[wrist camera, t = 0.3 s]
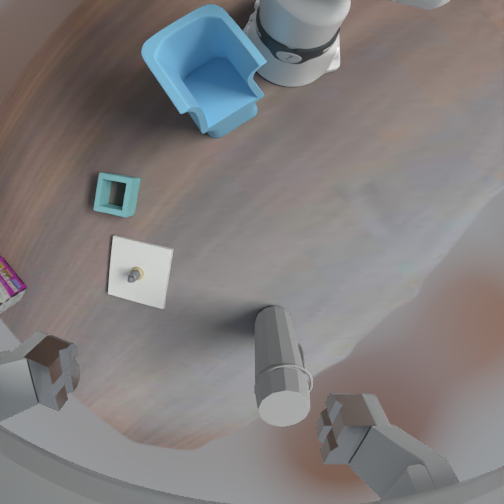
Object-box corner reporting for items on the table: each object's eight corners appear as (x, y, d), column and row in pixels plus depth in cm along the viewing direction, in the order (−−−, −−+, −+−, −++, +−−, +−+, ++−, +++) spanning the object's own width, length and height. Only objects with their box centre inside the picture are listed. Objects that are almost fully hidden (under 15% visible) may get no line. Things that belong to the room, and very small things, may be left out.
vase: (213, 142, 51) (180, 115, 27) (184, 99, 49) (134, 47, 25) (261, 112, 50) (268, 61, 25) (231, 69, 48) (215, -2, 23)
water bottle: (246, 328, 59) (242, 417, 35) (267, 296, 58) (276, 376, 33) (286, 348, 60) (302, 438, 36) (308, 317, 59) (338, 401, 34)
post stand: (115, 234, 55) (103, 240, 50) (173, 248, 55) (166, 255, 50) (109, 292, 58) (98, 301, 53) (164, 307, 58) (157, 318, 53)
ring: (108, 172, 52) (99, 172, 48) (140, 178, 52) (132, 178, 48) (103, 207, 54) (93, 210, 50) (134, 214, 54) (126, 217, 50)
